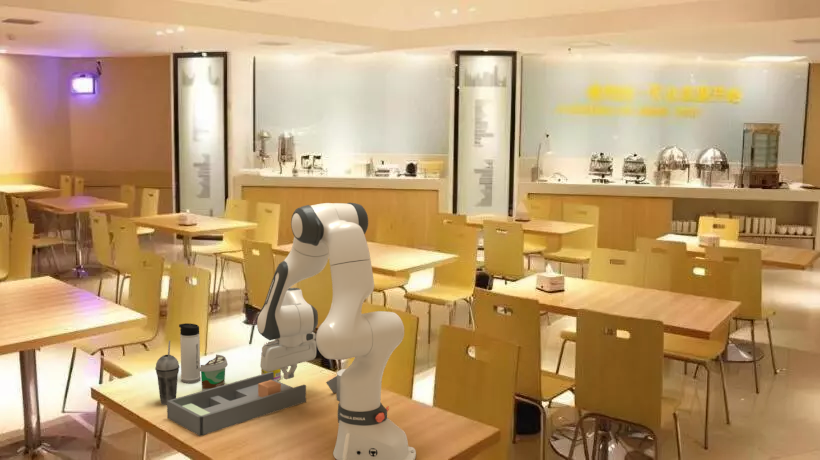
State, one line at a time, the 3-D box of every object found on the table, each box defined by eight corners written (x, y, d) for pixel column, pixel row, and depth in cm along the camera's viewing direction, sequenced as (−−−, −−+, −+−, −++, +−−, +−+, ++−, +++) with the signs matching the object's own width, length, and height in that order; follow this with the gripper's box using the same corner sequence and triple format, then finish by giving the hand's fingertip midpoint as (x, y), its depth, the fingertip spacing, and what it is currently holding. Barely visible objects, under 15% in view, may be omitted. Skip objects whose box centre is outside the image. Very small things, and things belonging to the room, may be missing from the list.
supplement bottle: (260, 376, 268) (260, 341, 266) (279, 375, 270) (279, 340, 268) (262, 383, 262) (262, 346, 260) (281, 381, 264) (281, 345, 262)
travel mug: (179, 378, 264) (177, 322, 261) (198, 376, 267) (197, 320, 264) (181, 384, 259) (180, 327, 256) (201, 382, 261) (200, 325, 258)
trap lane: (271, 387, 258) (271, 371, 257) (305, 401, 246) (305, 385, 245) (167, 418, 230) (167, 400, 229) (200, 436, 218) (199, 417, 217)
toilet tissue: (328, 391, 256) (329, 366, 254) (367, 394, 254) (368, 369, 252) (321, 401, 247) (321, 375, 245) (362, 404, 245) (362, 378, 243)
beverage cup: (151, 404, 241) (149, 342, 238) (168, 396, 247) (166, 337, 244) (168, 408, 238) (166, 346, 235) (185, 401, 244) (183, 340, 241)
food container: (217, 396, 249) (217, 366, 247) (200, 394, 250) (199, 365, 248) (234, 383, 261) (233, 355, 259) (217, 382, 262) (216, 353, 260)
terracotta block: (271, 391, 246) (271, 379, 245) (280, 395, 242) (280, 383, 242) (258, 395, 242) (258, 383, 241) (267, 399, 239) (267, 387, 238)
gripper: (268, 345, 236) (268, 388, 238) (319, 332, 251) (319, 373, 253) (256, 341, 240) (256, 383, 242) (307, 328, 255) (306, 368, 257)
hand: (288, 378), depth 248 cm, fingers closed
